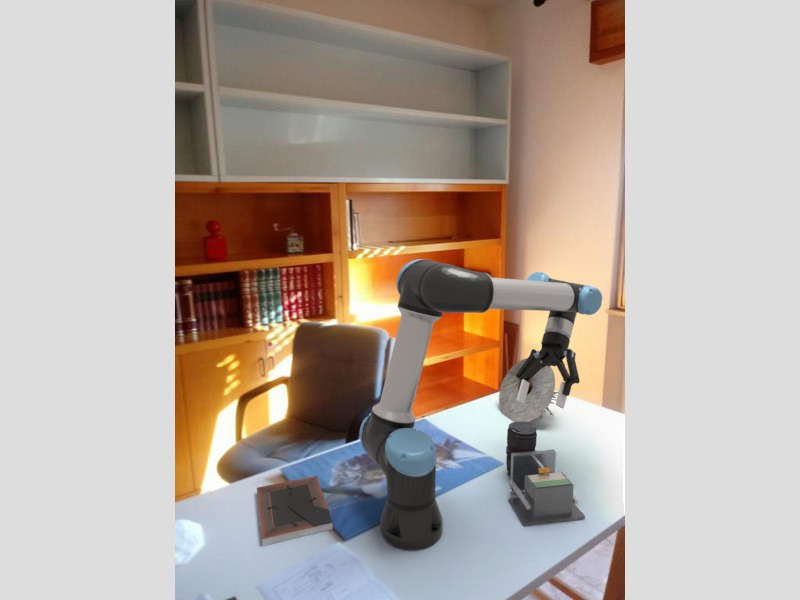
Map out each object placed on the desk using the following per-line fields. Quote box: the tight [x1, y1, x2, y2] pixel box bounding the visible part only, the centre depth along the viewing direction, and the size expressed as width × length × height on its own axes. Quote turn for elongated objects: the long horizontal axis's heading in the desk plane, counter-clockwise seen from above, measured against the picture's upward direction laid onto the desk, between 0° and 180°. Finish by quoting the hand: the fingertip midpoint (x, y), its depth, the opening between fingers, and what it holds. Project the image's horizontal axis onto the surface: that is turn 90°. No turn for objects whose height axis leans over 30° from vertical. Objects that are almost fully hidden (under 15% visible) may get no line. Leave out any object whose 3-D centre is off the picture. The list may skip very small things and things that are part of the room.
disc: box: [498, 357, 559, 423], centre depth 173 cm, size 25×18×25 cm
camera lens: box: [505, 421, 538, 477], centre depth 134 cm, size 8×8×15 cm
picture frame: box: [256, 475, 334, 546], centre depth 121 cm, size 16×2×22 cm
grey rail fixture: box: [509, 449, 580, 509], centre depth 121 cm, size 14×12×10 cm
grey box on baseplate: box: [507, 471, 586, 527], centre depth 119 cm, size 16×10×9 cm, turn 99°
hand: (539, 404), depth 130 cm, fingers open, 13 cm apart
